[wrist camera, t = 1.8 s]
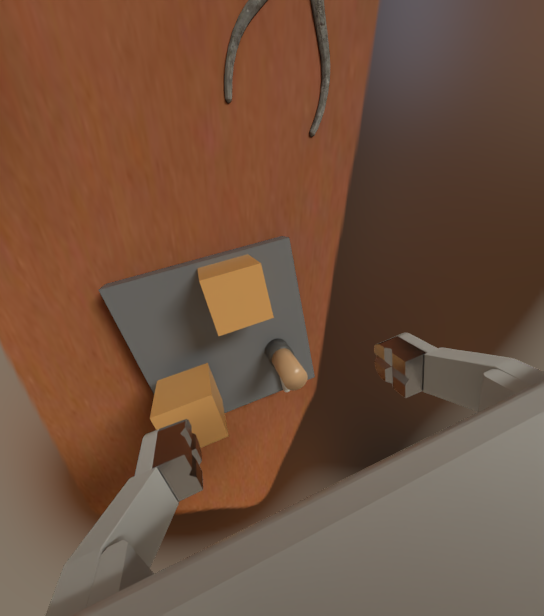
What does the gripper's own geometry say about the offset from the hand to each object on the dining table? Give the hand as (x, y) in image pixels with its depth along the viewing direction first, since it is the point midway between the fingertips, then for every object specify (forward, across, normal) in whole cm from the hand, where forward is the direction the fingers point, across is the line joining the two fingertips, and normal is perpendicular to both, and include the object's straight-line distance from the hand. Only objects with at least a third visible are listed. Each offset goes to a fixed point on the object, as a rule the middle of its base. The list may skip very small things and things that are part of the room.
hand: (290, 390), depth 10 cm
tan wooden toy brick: (+17, 0, 0) cm, 17 cm away
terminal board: (+19, +2, +6) cm, 20 cm away
